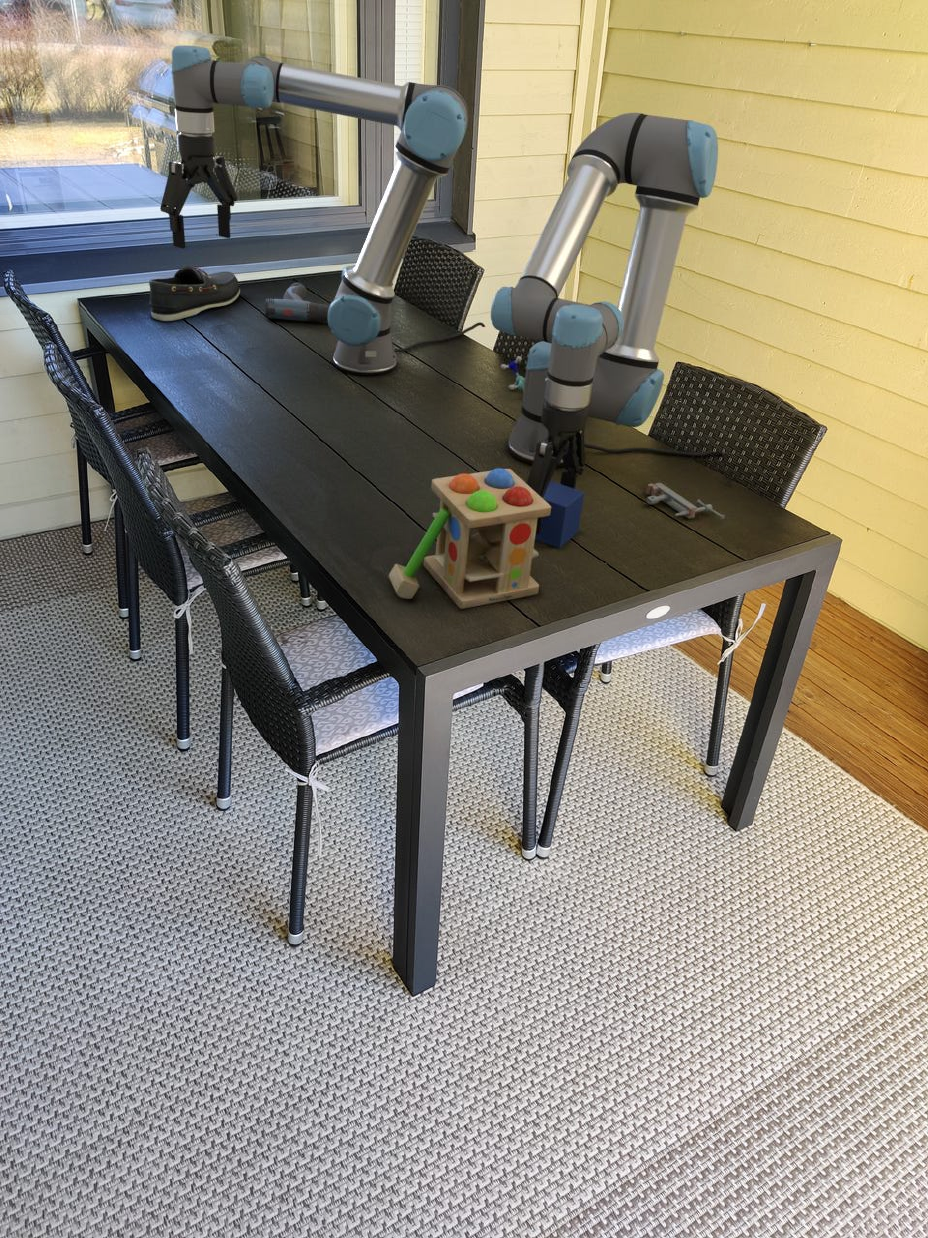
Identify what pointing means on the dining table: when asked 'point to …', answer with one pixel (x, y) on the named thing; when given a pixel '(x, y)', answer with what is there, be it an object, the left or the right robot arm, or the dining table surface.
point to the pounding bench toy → (479, 539)
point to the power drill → (295, 306)
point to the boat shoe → (191, 293)
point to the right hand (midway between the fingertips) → (548, 518)
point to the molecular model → (519, 378)
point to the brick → (561, 514)
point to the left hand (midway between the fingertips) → (202, 241)
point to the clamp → (657, 495)
